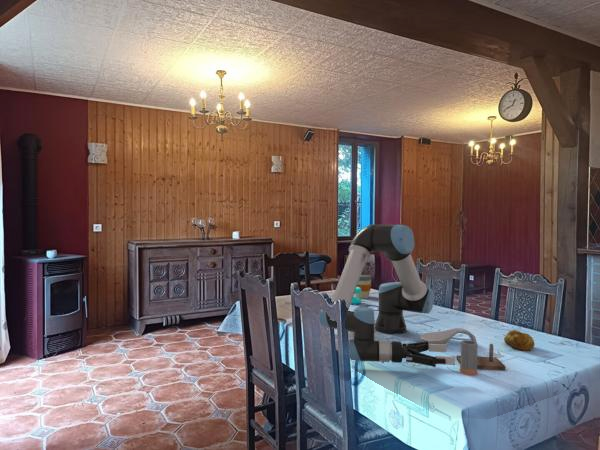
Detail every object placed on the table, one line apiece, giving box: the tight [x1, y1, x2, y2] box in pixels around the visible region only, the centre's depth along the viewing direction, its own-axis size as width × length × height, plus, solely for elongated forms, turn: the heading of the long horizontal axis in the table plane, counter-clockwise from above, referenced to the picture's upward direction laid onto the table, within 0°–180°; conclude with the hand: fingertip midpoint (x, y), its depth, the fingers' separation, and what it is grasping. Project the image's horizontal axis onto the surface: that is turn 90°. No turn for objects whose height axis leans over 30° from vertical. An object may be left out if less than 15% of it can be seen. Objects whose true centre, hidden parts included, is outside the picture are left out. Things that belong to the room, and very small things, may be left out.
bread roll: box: [503, 329, 535, 351], centre depth 184 cm, size 13×10×8 cm
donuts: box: [350, 287, 362, 305], centre depth 272 cm, size 10×10×10 cm
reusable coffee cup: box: [354, 273, 373, 300], centre depth 291 cm, size 13×13×15 cm
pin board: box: [455, 343, 507, 371], centre depth 162 cm, size 15×10×8 cm, turn 83°
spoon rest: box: [420, 327, 477, 345], centre depth 187 cm, size 24×12×7 cm, turn 90°
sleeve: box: [459, 339, 478, 376], centre depth 154 cm, size 5×5×11 cm
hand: (450, 354), depth 154 cm, fingers open, 13 cm apart
